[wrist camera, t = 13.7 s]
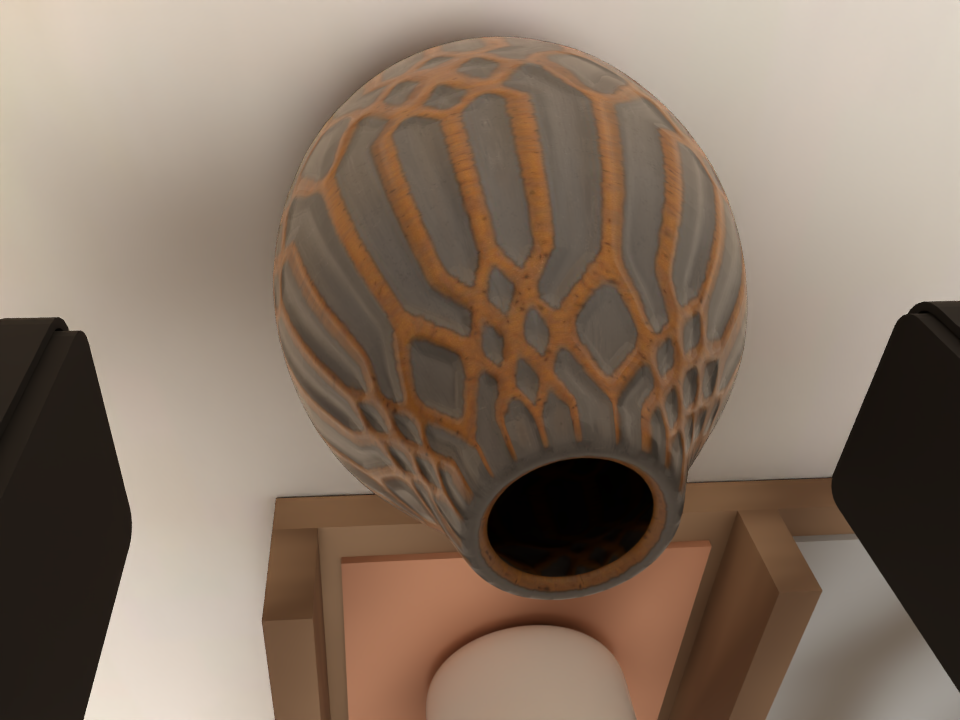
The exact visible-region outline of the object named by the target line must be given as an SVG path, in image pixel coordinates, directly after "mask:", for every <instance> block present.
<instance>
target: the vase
mask: <svg viewBox="0 0 960 720" xmlns="http://www.w3.org/2000/svg"><path fill="white" fill-rule="evenodd" d="M273 296H274V308H275V316H276V324H277V329H278V335H279V339H280V343H281V347H282V350H283V354H284V357H285V361H286V364H287V368H288V371H289V373H290V376H291V378H292V381H293V384H294V386H295V389H296V391H297V394H298V396H299V398H300V400H301V402H302V404H303V406H304V408H305V410H306V412H307V414H308V416H309V418H310V420H311V421H312V423H313V425H314V426H315V428H316V430H317V431H318V433H319V435H320V436H321V437H322V439H323V440H324V441H325V443H326V444H327V446H328V447H329V448H330V450H331V451H332V452H333V454H334V455H335V456H336V458H337V459H338V460H339V461H340V462H341V463H342V464H343V465H344V467H345V468H346V469H347V470H348V471H349V472H351V473H352V474H353V475H354V476H355V477H356V478H357V479H358V480H359V481H360V482H361V483H362V484H363V485H365V486H366V487H367V488H368V489H370V490H371V491H372V492H373V493H374V494H376V495H377V496H379V497H380V498H382V499H383V500H385V501H386V502H387V503H389V504H391V505H392V506H394V507H395V508H397V509H398V510H400V511H402V512H404V513H405V514H407V515H409V516H411V517H412V518H414V519H416V520H418V521H419V522H421V523H423V524H425V525H427V526H428V527H430V528H432V529H434V530H436V531H438V532H440V533H442V534H444V535H445V536H446V537H447V538H448V539H449V540H450V541H451V543H452V544H453V545H454V547H455V548H456V549H457V551H458V552H459V553H460V555H461V556H462V557H463V559H464V560H465V561H466V562H467V564H468V565H469V566H470V567H471V568H472V569H473V570H474V571H475V572H476V573H477V574H478V575H479V576H480V577H481V578H482V579H484V580H485V581H486V582H488V583H489V584H491V585H493V586H494V587H496V588H498V589H500V590H502V591H505V592H507V593H510V594H513V595H517V596H521V597H525V598H531V599H540V600H563V599H572V598H579V597H584V596H588V595H592V594H596V593H599V592H602V591H605V590H608V589H610V588H613V587H615V586H617V585H620V584H622V583H624V582H626V581H627V580H629V579H631V578H633V577H634V576H636V575H637V574H639V573H640V572H642V571H643V570H645V569H646V568H647V567H648V566H650V565H651V564H652V563H653V562H654V561H655V560H656V559H657V558H658V557H659V556H660V555H661V554H662V553H663V552H664V550H665V549H666V548H667V546H668V545H669V544H670V542H671V540H672V539H673V537H674V535H675V533H676V531H677V529H678V527H679V524H680V521H681V517H682V514H683V508H684V502H685V493H686V483H687V475H688V470H689V468H690V467H691V465H692V464H693V462H694V460H695V459H696V457H697V456H698V454H699V452H700V451H701V449H702V447H703V445H704V444H705V442H706V440H707V439H708V437H709V435H710V433H711V432H712V430H713V428H714V427H715V425H716V423H717V421H718V419H719V417H720V415H721V413H722V411H723V409H724V407H725V405H726V403H727V401H728V399H729V396H730V393H731V391H732V388H733V385H734V382H735V379H736V376H737V373H738V369H739V366H740V362H741V358H742V354H743V349H744V342H745V333H746V323H747V286H746V272H745V265H744V259H743V253H742V247H741V243H740V238H739V234H738V230H737V226H736V223H735V219H734V216H733V213H732V210H731V208H730V205H729V202H728V199H727V196H726V194H725V192H724V190H723V187H722V185H721V183H720V181H719V179H718V177H717V175H716V173H715V171H714V169H713V167H712V165H711V163H710V162H709V160H708V158H707V157H706V155H705V154H704V152H703V151H702V149H701V148H700V147H699V145H698V144H697V143H696V141H695V140H694V139H693V137H692V136H691V135H690V133H689V132H688V131H687V129H686V128H685V127H684V126H683V125H682V123H681V122H680V121H679V120H678V119H677V118H676V117H675V116H674V115H673V114H672V113H671V112H670V111H669V110H668V109H667V108H666V107H665V106H664V105H663V104H662V103H661V102H660V101H659V100H658V99H657V98H655V97H654V96H653V95H652V94H651V93H650V92H649V91H648V90H646V89H645V88H644V87H642V86H641V85H640V84H638V83H637V82H636V81H634V80H633V79H631V78H630V77H629V76H627V75H626V74H624V73H623V72H621V71H619V70H618V69H616V68H615V67H613V66H611V65H610V64H608V63H606V62H604V61H602V60H600V59H598V58H596V57H594V56H592V55H589V54H587V53H584V52H582V51H579V50H576V49H573V48H570V47H566V46H563V45H560V44H555V43H550V42H545V41H540V40H536V39H528V38H520V37H481V38H473V39H465V40H460V41H455V42H450V43H446V44H443V45H439V46H436V47H433V48H430V49H427V50H424V51H422V52H419V53H417V54H414V55H412V56H410V57H408V58H406V59H404V60H402V61H399V62H398V63H396V64H394V65H392V66H391V67H389V68H387V69H386V70H384V71H382V72H381V73H379V74H378V75H377V76H375V77H374V78H372V79H371V80H369V81H368V82H367V83H366V84H365V85H363V86H362V87H361V88H360V89H359V90H357V91H356V92H355V93H354V94H353V95H352V96H351V97H350V98H349V99H348V100H347V101H346V102H345V103H344V104H343V105H342V106H341V107H340V108H339V109H338V110H337V111H336V112H335V113H334V114H333V115H332V117H331V118H330V119H329V120H328V121H327V122H326V124H325V125H324V126H323V128H322V129H321V130H320V132H319V133H318V135H317V136H316V137H315V139H314V141H313V142H312V144H311V146H310V147H309V149H308V151H307V152H306V154H305V156H304V158H303V160H302V162H301V164H300V166H299V169H298V171H297V173H296V176H295V178H294V181H293V183H292V186H291V189H290V191H289V194H288V196H287V200H286V203H285V207H284V210H283V214H282V218H281V222H280V226H279V231H278V237H277V242H276V250H275V260H274V272H273Z"/></svg>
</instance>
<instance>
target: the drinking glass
mask: <svg viewBox="0 0 960 720" xmlns="http://www.w3.org/2000/svg"><path fill="white" fill-rule="evenodd" d="M425 709H426V720H637V718H636V714H635V711H634V707H633V703H632V700H631V696H630V692H629V689H628V685H627V682H626V679H625V676H624V673H623V670H622V668H621V666H620V664H619V662H618V661H617V659H616V658H615V656H614V655H613V654H612V653H611V651H610V650H609V649H608V648H607V647H605V646H604V645H603V644H602V643H600V642H599V641H598V640H596V639H594V638H593V637H591V636H589V635H587V634H585V633H582V632H579V631H577V630H573V629H570V628H565V627H560V626H552V625H525V626H517V627H511V628H506V629H502V630H498V631H495V632H492V633H489V634H486V635H484V636H481V637H479V638H477V639H475V640H473V641H471V642H469V643H467V644H466V645H464V646H462V647H461V648H459V649H458V650H457V651H455V652H454V653H453V654H452V655H450V656H449V657H448V658H447V659H446V660H445V661H444V662H443V664H442V665H441V666H440V667H439V669H438V670H437V672H436V673H435V675H434V677H433V679H432V681H431V683H430V686H429V689H428V692H427V698H426V708H425Z"/></svg>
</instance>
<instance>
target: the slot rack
mask: <svg viewBox="0 0 960 720" xmlns="http://www.w3.org/2000/svg"><path fill="white" fill-rule="evenodd" d="M831 482H832V478H819V479H792V480H764V481H737V482H710V483H686V493H685V502H684V508H683V514H682V517H681V521H680V524H679V527H678V529H677V531H676V533H675V535H674V537H673V539H672V540H671V542H670V544H669V545H668V546H667V548H666V549H665V550H664V552H663V553H662V554H661V555H660V556H659V557H658V558H657V559H656V560H655V561H654V562H653V563H652V564H651V565H650V566H648V567H647V568H646V569H645V570H643V571H642V572H640V573H639V574H637V575H636V576H634V577H633V578H631V579H629V580H627V581H626V582H624V583H622V584H620V585H617V586H615V587H613V588H610V589H608V590H605V591H602V592H599V593H596V594H592V595H588V596H584V597H579V598H572V599H563V600H540V599H531V598H525V597H521V596H517V595H513V594H510V593H507V592H505V591H502V590H500V589H498V588H496V587H494V586H493V585H491V584H489V583H488V582H486V581H485V580H484V579H482V578H481V577H480V576H479V575H478V574H477V573H476V572H475V571H474V570H473V569H472V568H471V567H470V566H469V565H468V564H467V562H466V561H465V560H464V559H463V557H462V556H461V555H460V553H459V552H458V551H457V549H456V548H455V547H454V545H453V544H452V543H451V541H450V540H449V539H448V538H447V537H446V536H445V535H444V534H442V533H440V532H438V531H436V530H434V529H432V528H430V527H428V526H427V525H425V524H423V523H421V522H419V521H418V520H416V519H414V518H412V517H411V516H409V515H407V514H405V513H404V512H402V511H400V510H398V509H397V508H395V507H394V506H392V505H391V504H389V503H387V502H386V501H385V500H383V499H382V498H380V497H379V496H377V495H354V496H326V497H299V498H276V503H275V512H274V520H273V529H272V538H271V547H270V555H269V564H268V573H267V582H266V590H265V599H264V608H263V617H262V625H263V633H264V640H265V648H266V655H267V663H268V670H269V678H270V685H271V693H272V700H273V708H274V715H275V720H426V709H425V708H426V698H427V692H428V689H429V686H430V683H431V681H432V679H433V677H434V675H435V673H436V672H437V670H438V669H439V667H440V666H441V665H442V664H443V662H444V661H445V660H446V659H447V658H448V657H449V656H450V655H452V654H453V653H454V652H455V651H457V650H458V649H459V648H461V647H462V646H464V645H466V644H467V643H469V642H471V641H473V640H475V639H477V638H479V637H481V636H484V635H486V634H489V633H492V632H495V631H498V630H502V629H506V628H511V627H517V626H525V625H552V626H560V627H565V628H570V629H573V630H577V631H579V632H582V633H585V634H587V635H589V636H591V637H593V638H594V639H596V640H598V641H599V642H600V643H602V644H603V645H604V646H605V647H607V648H608V649H609V650H610V651H611V653H612V654H613V655H614V656H615V658H616V659H617V661H618V662H619V664H620V666H621V668H622V670H623V673H624V676H625V679H626V682H627V685H628V689H629V692H630V696H631V700H632V703H633V707H634V711H635V714H636V718H637V720H960V693H959V691H958V690H957V688H956V687H955V685H954V684H953V682H952V681H951V679H950V677H949V676H948V674H947V673H946V671H945V670H944V668H943V667H942V665H941V664H940V662H939V661H938V659H937V658H936V656H935V655H934V653H933V652H932V650H931V649H930V647H929V646H928V644H927V643H926V641H925V639H924V638H923V636H922V635H921V633H920V632H919V630H918V629H917V627H916V626H915V624H914V623H913V621H912V620H911V618H910V617H909V615H908V614H907V612H906V611H905V609H904V608H903V606H902V604H901V603H900V601H899V600H898V598H897V597H896V595H895V594H894V592H893V591H892V589H891V588H890V586H889V585H888V583H887V582H886V580H885V579H884V577H883V576H882V574H881V573H880V571H879V570H878V568H877V566H876V565H875V563H874V562H873V560H872V559H871V557H870V556H869V554H868V553H867V551H866V550H865V548H864V547H863V545H862V544H861V542H860V541H859V539H858V538H857V536H856V535H855V533H854V531H853V530H852V528H851V527H850V525H849V524H848V522H847V521H846V519H845V518H844V516H843V515H842V513H841V512H840V510H839V509H838V507H837V505H836V503H835V502H834V499H833V495H832V489H831Z"/></svg>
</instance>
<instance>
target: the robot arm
mask: <svg viewBox="0 0 960 720" xmlns="http://www.w3.org/2000/svg"><path fill="white" fill-rule="evenodd" d="M831 489H832V495H833V499H834V502H835V503H836V505H837V507H838V509H839V510H840V512H841V513H842V515H843V516H844V518H845V519H846V521H847V522H848V524H849V525H850V527H851V528H852V530H853V531H854V533H855V535H856V536H857V538H858V539H859V541H860V542H861V544H862V545H863V547H864V548H865V550H866V551H867V553H868V554H869V556H870V557H871V559H872V560H873V562H874V563H875V565H876V566H877V568H878V570H879V571H880V573H881V574H882V576H883V577H884V579H885V580H886V582H887V583H888V585H889V586H890V588H891V589H892V591H893V592H894V594H895V595H896V597H897V598H898V600H899V601H900V603H901V604H902V606H903V608H904V609H905V611H906V612H907V614H908V615H909V617H910V618H911V620H912V621H913V623H914V624H915V626H916V627H917V629H918V630H919V632H920V633H921V635H922V636H923V638H924V639H925V641H926V643H927V644H928V646H929V647H930V649H931V650H932V652H933V653H934V655H935V656H936V658H937V659H938V661H939V662H940V664H941V665H942V667H943V668H944V670H945V671H946V673H947V674H948V676H949V677H950V679H951V681H952V682H953V684H954V685H955V687H956V688H957V690H958V691H959V693H960V301H935V302H921V303H918V304H916V305H915V306H914V307H913V308H912V309H910V311H909V313H908V314H906V315H903V316H902V317H901V318H900V319H899V320H898V321H897V323H896V325H895V326H894V329H893V331H892V334H891V336H890V339H889V341H888V343H887V346H886V348H885V351H884V353H883V355H882V358H881V360H880V363H879V365H878V367H877V370H876V372H875V375H874V377H873V379H872V382H871V384H870V387H869V389H868V391H867V394H866V396H865V399H864V401H863V404H862V406H861V408H860V411H859V413H858V416H857V418H856V420H855V423H854V425H853V428H852V430H851V432H850V435H849V437H848V440H847V442H846V444H845V447H844V449H843V452H842V454H841V456H840V459H839V461H838V464H837V466H836V469H835V471H834V473H833V477H832V482H831ZM131 532H132V519H131V511H130V507H129V503H128V499H127V495H126V491H125V487H124V483H123V479H122V475H121V471H120V467H119V463H118V459H117V455H116V450H115V446H114V442H113V438H112V434H111V430H110V426H109V422H108V418H107V414H106V410H105V406H104V402H103V398H102V394H101V390H100V386H99V382H98V378H97V374H96V370H95V366H94V362H93V358H92V354H91V350H90V346H89V343H88V340H87V337H86V335H85V334H84V332H82V331H69V329H68V326H67V325H66V323H65V322H64V320H63V319H61V318H59V317H52V318H4V319H0V720H83V719H84V716H85V712H86V708H87V704H88V701H89V697H90V693H91V689H92V685H93V682H94V678H95V674H96V670H97V667H98V663H99V659H100V655H101V651H102V648H103V644H104V640H105V636H106V633H107V629H108V625H109V621H110V617H111V614H112V610H113V606H114V602H115V599H116V595H117V591H118V587H119V584H120V580H121V576H122V572H123V568H124V565H125V561H126V557H127V553H128V550H129V546H130V541H131Z"/></svg>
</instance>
